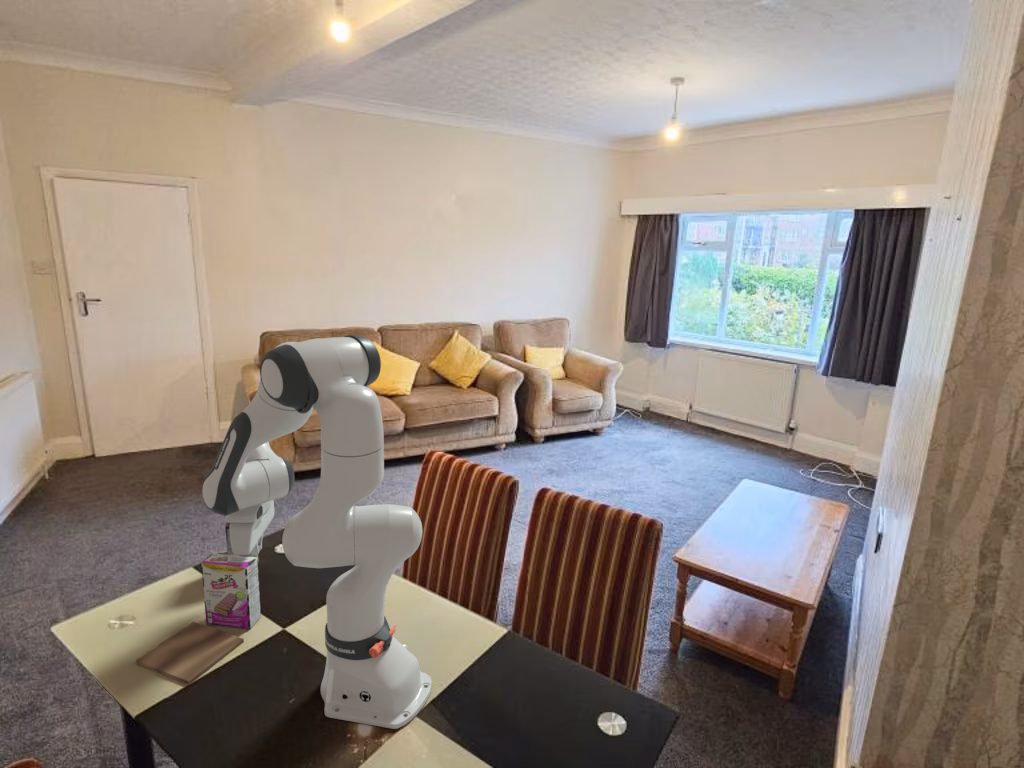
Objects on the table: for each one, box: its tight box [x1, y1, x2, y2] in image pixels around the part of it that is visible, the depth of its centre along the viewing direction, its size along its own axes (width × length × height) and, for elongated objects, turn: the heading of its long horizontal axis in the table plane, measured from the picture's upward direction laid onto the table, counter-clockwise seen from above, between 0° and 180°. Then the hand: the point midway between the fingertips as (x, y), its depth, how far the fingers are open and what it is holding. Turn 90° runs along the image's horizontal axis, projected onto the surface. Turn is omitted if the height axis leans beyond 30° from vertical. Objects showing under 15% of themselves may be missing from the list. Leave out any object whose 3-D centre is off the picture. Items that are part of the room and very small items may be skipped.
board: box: [135, 621, 244, 686], centre depth 122 cm, size 15×14×1 cm
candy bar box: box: [200, 551, 262, 630], centre depth 131 cm, size 11×5×16 cm, turn 84°
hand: (256, 552), depth 137 cm, fingers closed
